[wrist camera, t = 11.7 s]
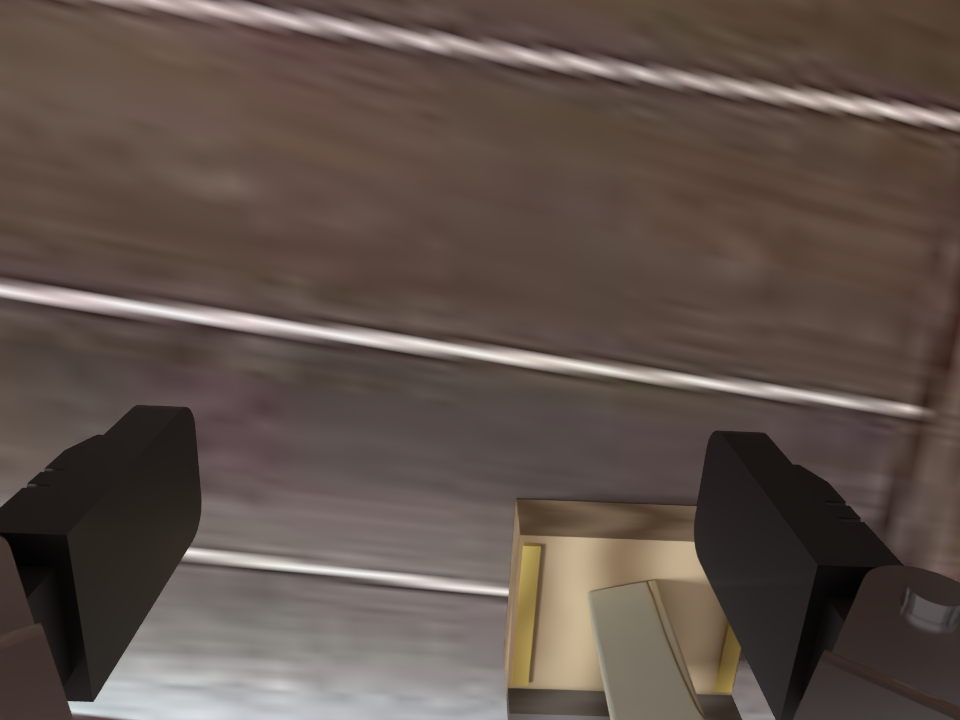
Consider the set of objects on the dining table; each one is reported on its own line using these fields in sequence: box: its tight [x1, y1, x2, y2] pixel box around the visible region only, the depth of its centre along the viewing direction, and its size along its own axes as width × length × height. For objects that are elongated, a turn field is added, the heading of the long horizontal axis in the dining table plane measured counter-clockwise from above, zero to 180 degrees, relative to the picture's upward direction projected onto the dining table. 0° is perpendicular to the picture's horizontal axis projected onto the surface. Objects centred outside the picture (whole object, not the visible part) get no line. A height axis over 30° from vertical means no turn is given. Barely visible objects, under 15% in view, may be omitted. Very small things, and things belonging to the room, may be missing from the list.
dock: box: [504, 499, 742, 720], centre depth 46 cm, size 14×12×6 cm
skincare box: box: [586, 580, 705, 720], centre depth 39 cm, size 6×4×12 cm
